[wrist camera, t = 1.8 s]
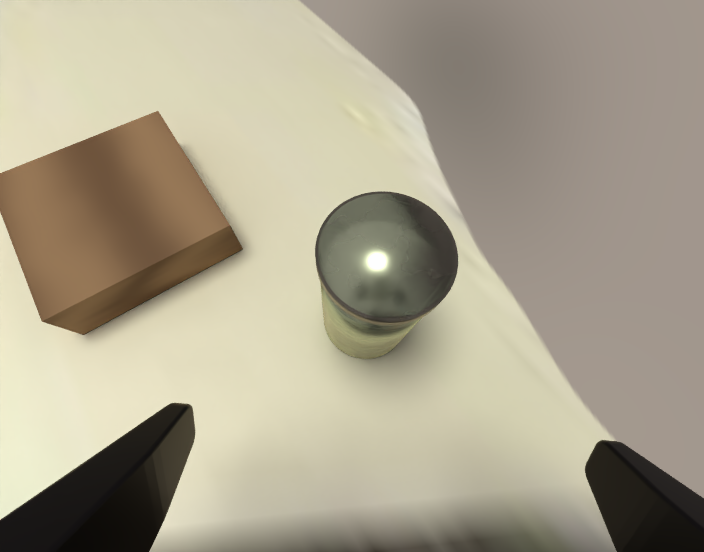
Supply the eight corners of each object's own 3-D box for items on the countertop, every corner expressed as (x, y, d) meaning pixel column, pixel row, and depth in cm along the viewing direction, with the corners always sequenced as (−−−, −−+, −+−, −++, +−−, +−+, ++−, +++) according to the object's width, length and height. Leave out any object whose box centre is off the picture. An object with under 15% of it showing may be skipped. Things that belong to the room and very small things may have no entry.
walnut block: (83, 334, 19) (41, 321, 17) (30, 207, 22) (-13, 178, 19) (242, 249, 22) (229, 225, 19) (177, 144, 25) (158, 110, 22)
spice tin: (353, 378, 19) (370, 351, 11) (305, 305, 21) (288, 232, 12) (425, 328, 21) (487, 270, 12) (374, 262, 22) (400, 171, 14)
